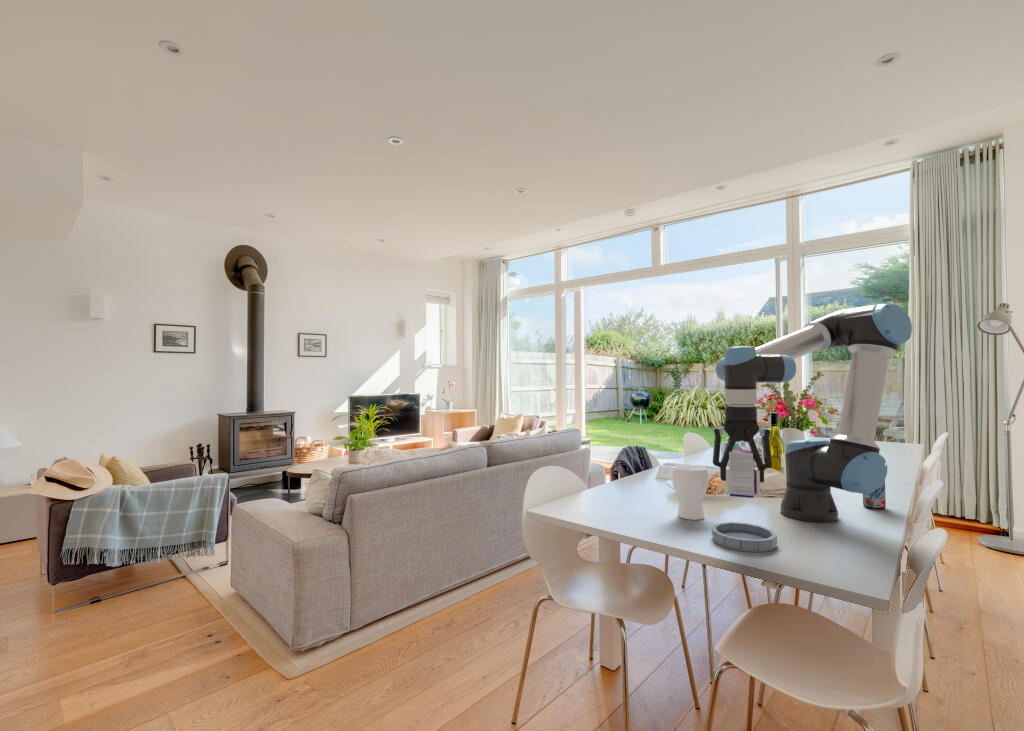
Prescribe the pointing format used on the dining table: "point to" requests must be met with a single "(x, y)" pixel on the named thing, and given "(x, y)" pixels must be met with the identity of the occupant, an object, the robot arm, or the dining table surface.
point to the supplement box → (741, 473)
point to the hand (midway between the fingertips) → (742, 493)
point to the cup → (690, 490)
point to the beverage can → (875, 499)
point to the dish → (744, 537)
